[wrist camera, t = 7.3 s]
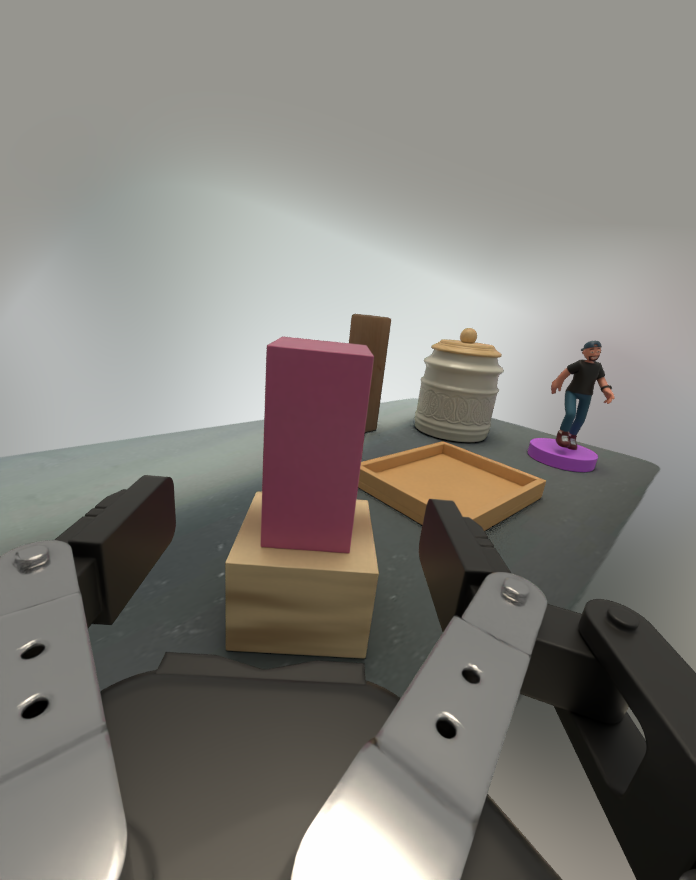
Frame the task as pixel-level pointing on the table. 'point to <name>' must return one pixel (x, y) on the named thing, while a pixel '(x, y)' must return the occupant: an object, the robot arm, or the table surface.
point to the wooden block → (376, 339)
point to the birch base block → (300, 593)
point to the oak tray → (449, 483)
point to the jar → (458, 389)
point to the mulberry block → (313, 442)
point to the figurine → (564, 447)
